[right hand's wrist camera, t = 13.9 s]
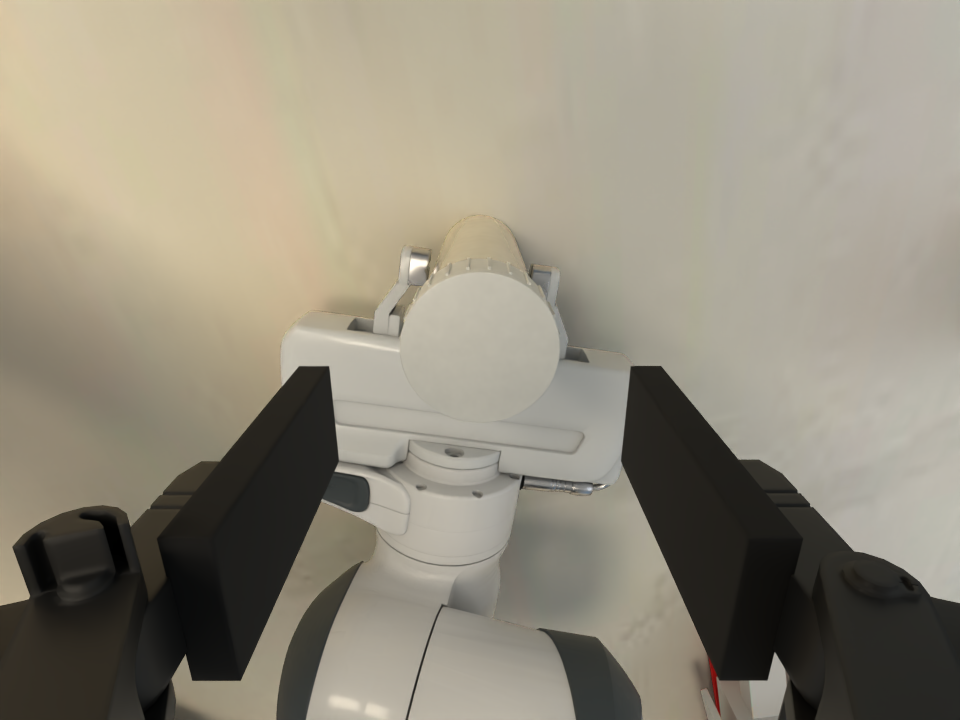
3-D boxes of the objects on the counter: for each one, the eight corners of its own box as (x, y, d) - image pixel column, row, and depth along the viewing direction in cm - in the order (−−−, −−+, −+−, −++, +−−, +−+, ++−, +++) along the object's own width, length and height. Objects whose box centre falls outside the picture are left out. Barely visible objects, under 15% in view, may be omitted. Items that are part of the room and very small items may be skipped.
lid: (386, 279, 20) (374, 296, 18) (533, 237, 20) (540, 249, 18) (432, 411, 22) (426, 441, 20) (568, 376, 22) (578, 402, 19)
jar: (432, 227, 35) (390, 299, 19) (506, 205, 35) (531, 259, 18) (455, 298, 37) (433, 424, 20) (525, 278, 37) (564, 391, 20)
